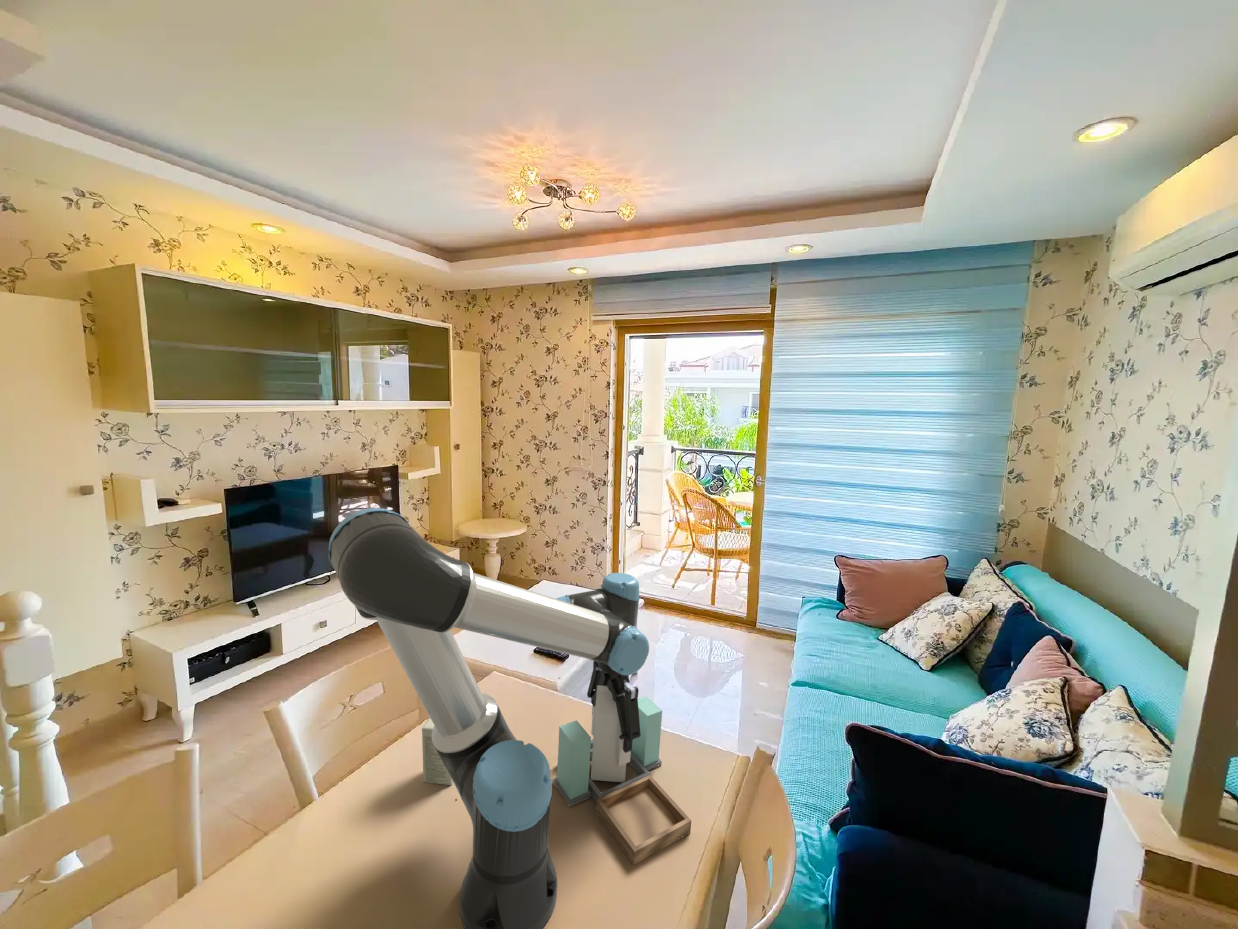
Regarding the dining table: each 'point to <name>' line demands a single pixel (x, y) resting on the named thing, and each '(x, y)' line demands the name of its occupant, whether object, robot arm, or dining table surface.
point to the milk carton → (606, 739)
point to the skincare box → (433, 759)
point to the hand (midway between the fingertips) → (609, 747)
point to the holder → (580, 746)
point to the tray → (642, 818)
